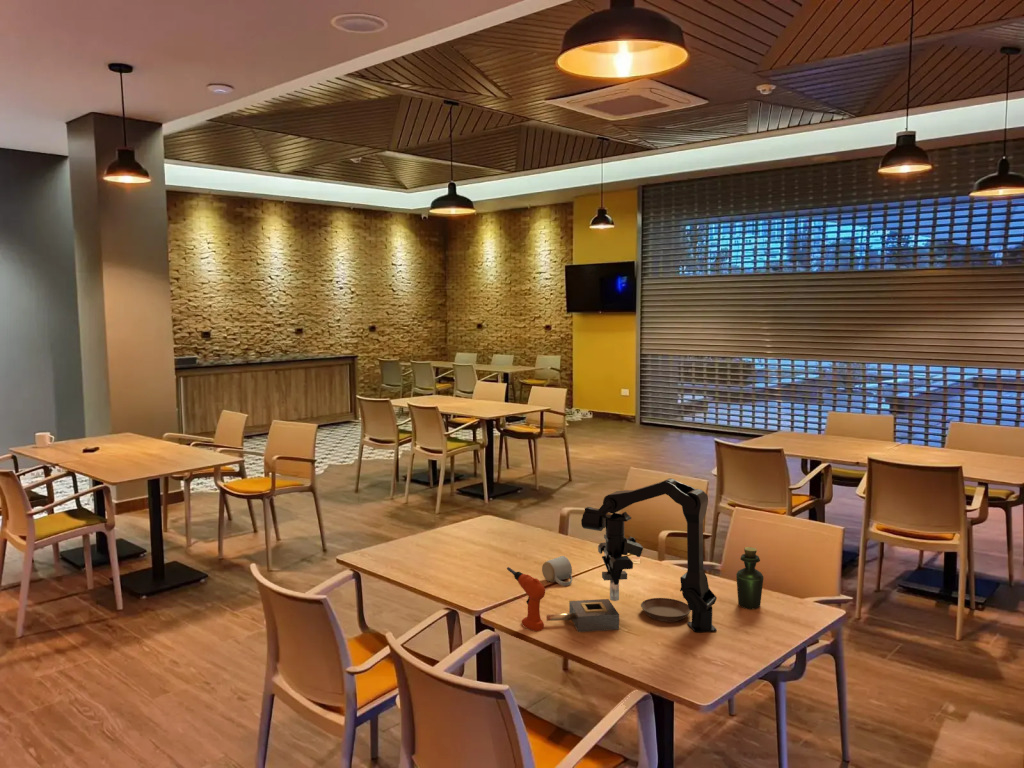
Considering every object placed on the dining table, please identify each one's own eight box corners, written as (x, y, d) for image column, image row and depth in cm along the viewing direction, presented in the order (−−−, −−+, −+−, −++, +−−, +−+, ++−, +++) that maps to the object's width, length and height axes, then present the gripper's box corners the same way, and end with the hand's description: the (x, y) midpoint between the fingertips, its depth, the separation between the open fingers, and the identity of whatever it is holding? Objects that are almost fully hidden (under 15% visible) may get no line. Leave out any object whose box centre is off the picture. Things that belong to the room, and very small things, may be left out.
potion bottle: (753, 612, 223) (754, 554, 222) (730, 604, 229) (731, 548, 228) (768, 606, 228) (769, 549, 227) (745, 598, 235) (746, 543, 233)
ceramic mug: (540, 579, 253) (540, 557, 252) (558, 574, 258) (559, 553, 257) (559, 588, 245) (559, 566, 244) (578, 583, 249) (578, 561, 248)
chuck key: (627, 600, 226) (627, 573, 225) (604, 601, 225) (604, 574, 225) (624, 596, 229) (624, 570, 228) (601, 598, 228) (602, 571, 227)
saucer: (691, 608, 227) (691, 599, 227) (690, 627, 213) (690, 618, 213) (643, 603, 231) (643, 595, 231) (638, 622, 217) (638, 613, 217)
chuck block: (619, 629, 211) (619, 613, 211) (550, 633, 209) (550, 617, 208) (608, 613, 223) (608, 598, 223) (543, 617, 220) (543, 601, 220)
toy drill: (511, 603, 228) (515, 557, 225) (547, 631, 212) (551, 583, 210) (498, 606, 225) (501, 560, 222) (533, 635, 210) (537, 586, 207)
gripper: (650, 540, 217) (649, 592, 218) (631, 523, 236) (631, 571, 237) (613, 542, 216) (613, 594, 217) (597, 525, 234) (597, 573, 236)
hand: (614, 582), depth 227 cm, fingers closed on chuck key, 3 cm apart
